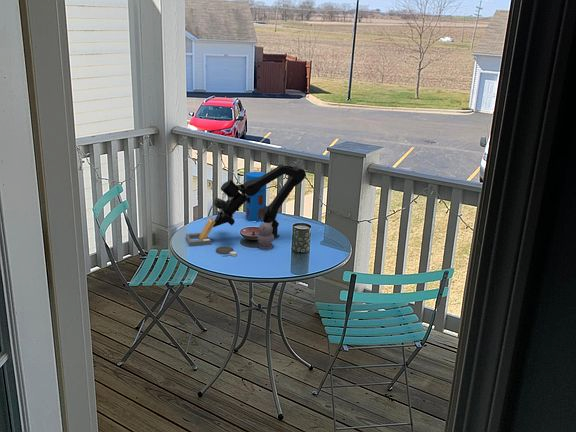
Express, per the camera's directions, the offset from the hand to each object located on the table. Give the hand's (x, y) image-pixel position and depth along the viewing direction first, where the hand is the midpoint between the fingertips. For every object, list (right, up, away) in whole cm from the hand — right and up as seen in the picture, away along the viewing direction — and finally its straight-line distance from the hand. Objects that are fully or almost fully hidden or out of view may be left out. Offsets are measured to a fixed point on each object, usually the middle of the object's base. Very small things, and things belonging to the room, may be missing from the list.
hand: (212, 226), depth 266 cm
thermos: (+19, +3, +36) cm, 40 cm away
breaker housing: (-7, -8, +1) cm, 11 cm away
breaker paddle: (-6, -7, 0) cm, 9 cm away
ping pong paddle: (+8, -12, -11) cm, 18 cm away
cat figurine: (+25, -10, -1) cm, 27 cm away
